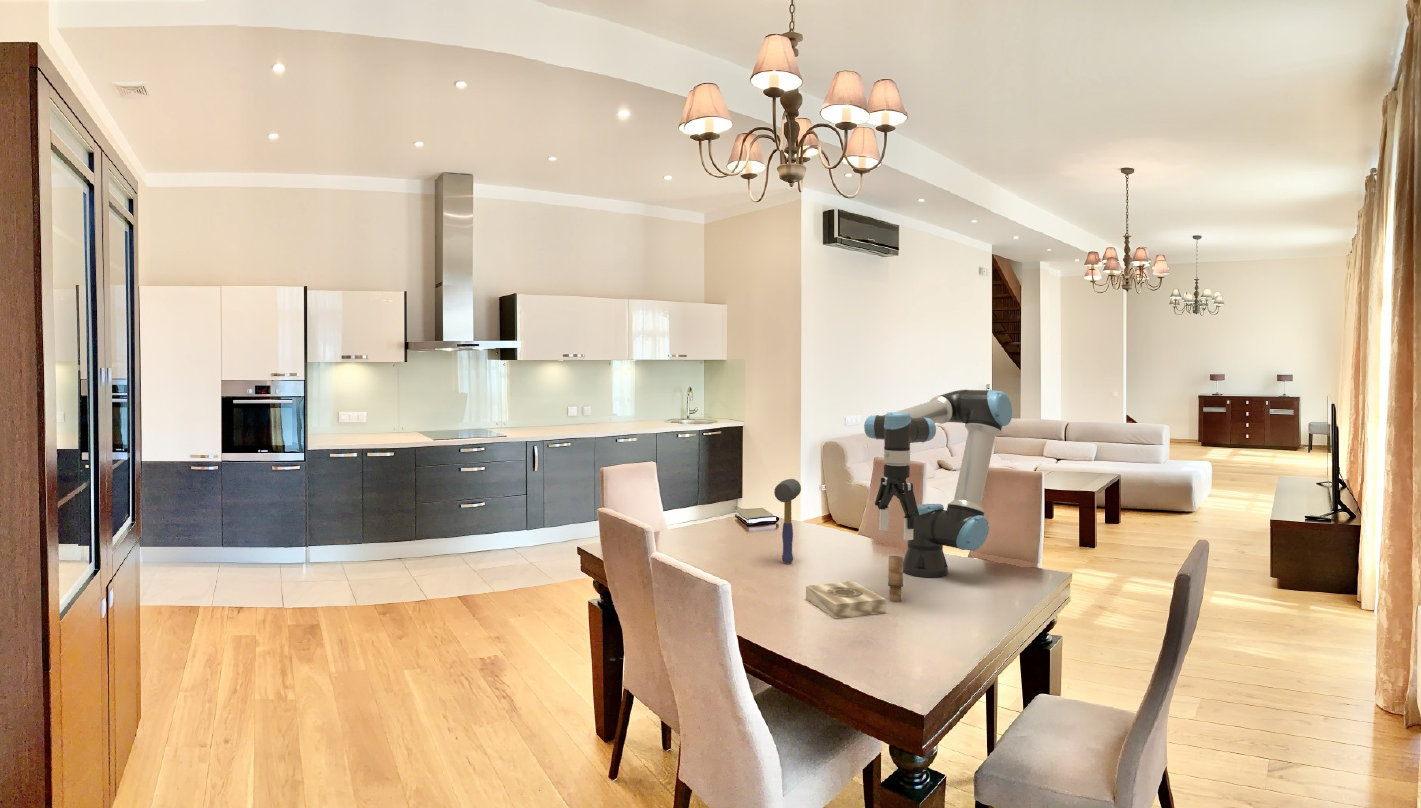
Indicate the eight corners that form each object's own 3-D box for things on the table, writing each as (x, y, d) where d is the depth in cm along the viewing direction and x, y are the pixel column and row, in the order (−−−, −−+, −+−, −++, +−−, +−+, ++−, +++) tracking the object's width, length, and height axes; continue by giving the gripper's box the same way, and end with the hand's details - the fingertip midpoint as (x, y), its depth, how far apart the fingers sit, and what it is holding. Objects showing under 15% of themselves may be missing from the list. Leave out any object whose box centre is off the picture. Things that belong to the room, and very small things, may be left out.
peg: (897, 597, 231) (898, 555, 230) (905, 601, 227) (906, 558, 226) (885, 598, 229) (885, 556, 229) (892, 603, 225) (893, 559, 225)
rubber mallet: (793, 568, 264) (793, 482, 263) (772, 566, 267) (772, 481, 266) (802, 560, 276) (802, 478, 275) (782, 558, 279) (782, 476, 277)
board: (853, 594, 234) (853, 581, 234) (885, 612, 216) (885, 598, 216) (805, 598, 229) (805, 585, 229) (835, 618, 211) (835, 604, 211)
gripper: (864, 459, 237) (863, 527, 238) (909, 469, 213) (908, 544, 214) (885, 459, 239) (884, 526, 240) (932, 468, 216) (931, 543, 216)
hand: (895, 535), depth 227 cm, fingers open, 13 cm apart
